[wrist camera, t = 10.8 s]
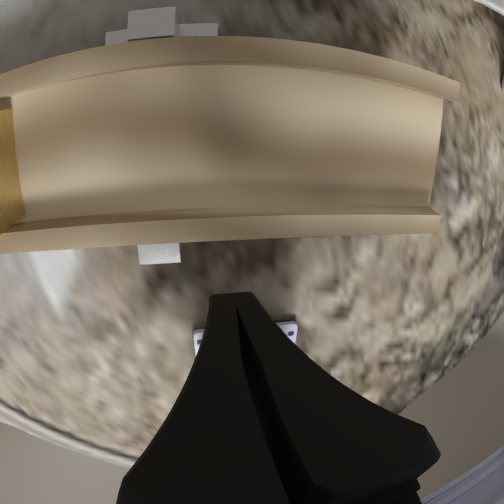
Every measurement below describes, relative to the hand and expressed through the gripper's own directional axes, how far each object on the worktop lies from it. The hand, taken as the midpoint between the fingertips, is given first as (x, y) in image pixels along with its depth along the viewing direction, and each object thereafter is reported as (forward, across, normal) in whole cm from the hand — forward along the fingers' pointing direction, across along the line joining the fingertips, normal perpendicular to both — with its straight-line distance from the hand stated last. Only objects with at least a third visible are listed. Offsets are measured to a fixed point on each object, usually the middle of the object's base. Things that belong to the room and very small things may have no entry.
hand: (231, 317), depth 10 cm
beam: (+6, +3, -5) cm, 8 cm away
